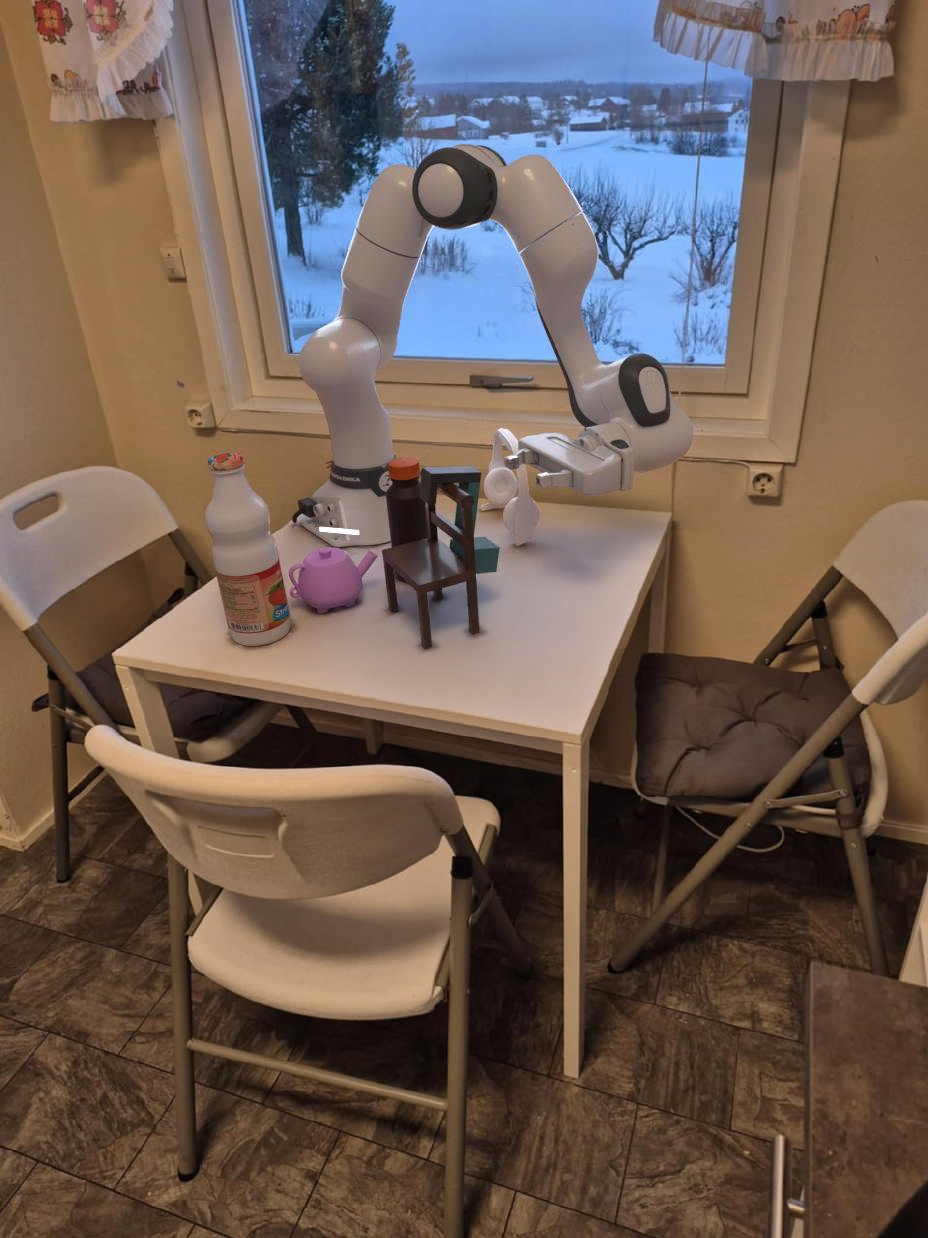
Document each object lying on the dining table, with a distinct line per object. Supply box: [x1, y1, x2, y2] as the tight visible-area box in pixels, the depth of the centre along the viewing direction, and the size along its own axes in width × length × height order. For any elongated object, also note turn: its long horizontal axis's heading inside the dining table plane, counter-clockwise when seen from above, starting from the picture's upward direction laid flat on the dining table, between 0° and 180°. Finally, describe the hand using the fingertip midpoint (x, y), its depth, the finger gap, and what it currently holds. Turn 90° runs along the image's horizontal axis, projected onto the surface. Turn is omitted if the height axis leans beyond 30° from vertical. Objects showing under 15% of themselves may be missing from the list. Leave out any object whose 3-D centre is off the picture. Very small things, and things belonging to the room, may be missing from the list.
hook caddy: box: [419, 465, 500, 575], centre depth 126 cm, size 12×5×16 cm, turn 117°
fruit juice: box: [204, 451, 292, 647], centre depth 125 cm, size 9×9×28 cm
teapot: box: [288, 546, 378, 614], centre depth 137 cm, size 10×15×9 cm
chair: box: [381, 469, 481, 650], centre depth 126 cm, size 9×14×22 cm
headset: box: [480, 427, 541, 547], centre depth 157 cm, size 20×7×18 cm, turn 12°
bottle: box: [386, 456, 428, 583], centre depth 141 cm, size 7×7×20 cm
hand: (522, 472), depth 127 cm, fingers open, 8 cm apart
